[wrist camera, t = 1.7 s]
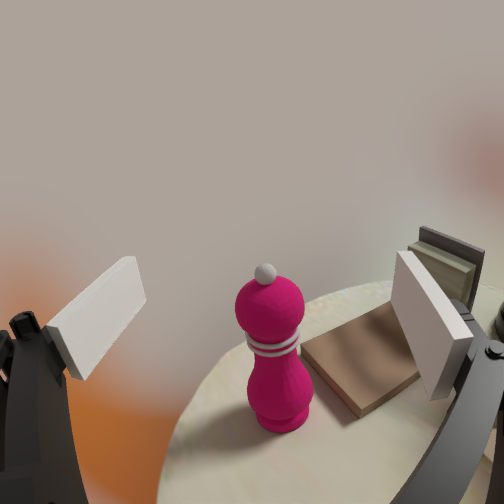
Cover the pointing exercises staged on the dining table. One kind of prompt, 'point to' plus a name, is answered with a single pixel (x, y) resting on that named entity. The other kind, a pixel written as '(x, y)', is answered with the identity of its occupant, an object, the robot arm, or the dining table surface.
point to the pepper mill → (275, 350)
